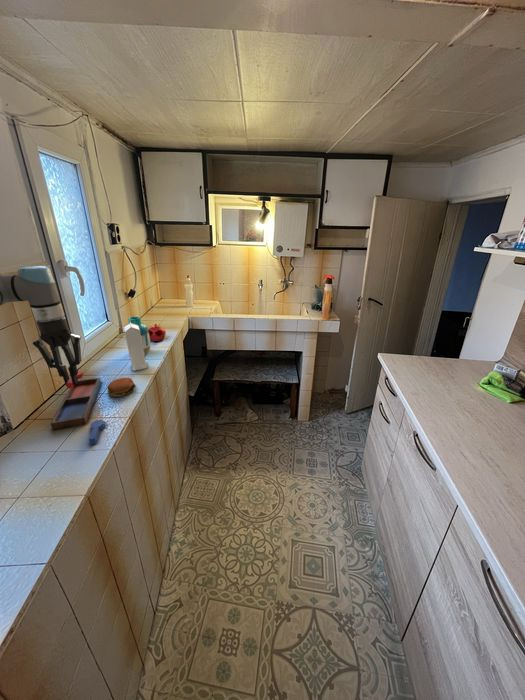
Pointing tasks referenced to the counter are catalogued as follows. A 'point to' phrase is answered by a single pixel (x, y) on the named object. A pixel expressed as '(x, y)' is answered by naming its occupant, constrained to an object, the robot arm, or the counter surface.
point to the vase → (142, 332)
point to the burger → (121, 387)
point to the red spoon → (69, 382)
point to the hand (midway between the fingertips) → (72, 383)
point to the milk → (135, 347)
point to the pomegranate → (156, 333)
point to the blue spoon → (96, 430)
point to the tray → (77, 404)
